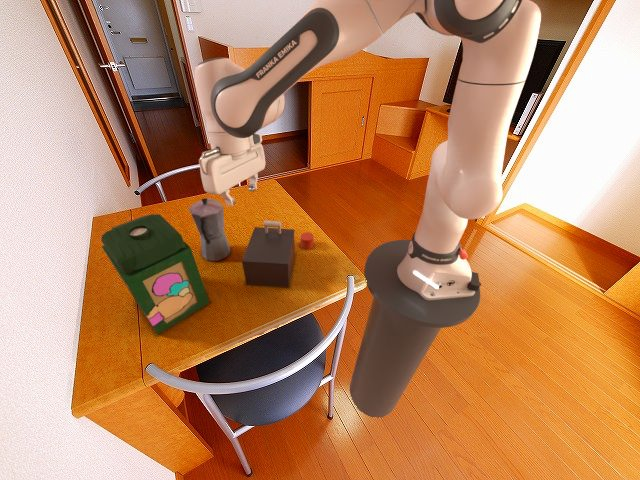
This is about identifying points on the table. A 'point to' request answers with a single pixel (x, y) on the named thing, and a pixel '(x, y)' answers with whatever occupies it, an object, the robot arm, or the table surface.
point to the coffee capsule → (307, 240)
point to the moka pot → (211, 228)
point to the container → (156, 269)
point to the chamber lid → (269, 245)
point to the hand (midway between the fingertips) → (242, 197)
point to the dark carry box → (269, 273)
